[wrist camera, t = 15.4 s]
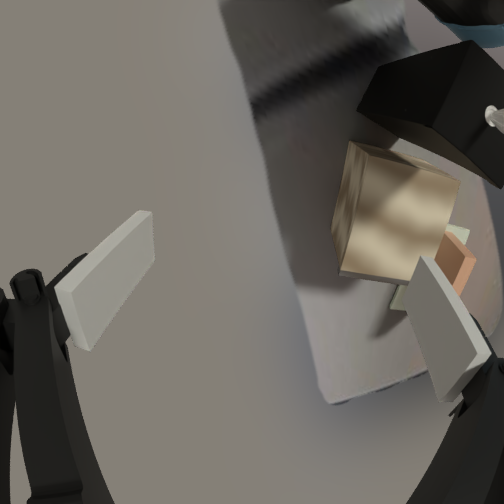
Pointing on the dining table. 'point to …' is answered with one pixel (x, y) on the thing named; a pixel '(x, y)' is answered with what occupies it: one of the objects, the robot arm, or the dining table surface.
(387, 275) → the brown boxy piece
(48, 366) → the robot arm
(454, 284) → the tan rectangular slab
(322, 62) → the dining table surface
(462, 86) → the black tall rectangular block
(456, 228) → the mat
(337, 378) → the dining table surface
